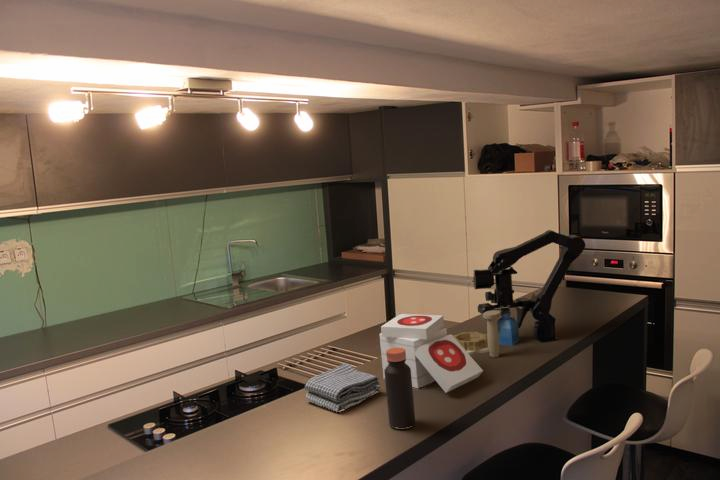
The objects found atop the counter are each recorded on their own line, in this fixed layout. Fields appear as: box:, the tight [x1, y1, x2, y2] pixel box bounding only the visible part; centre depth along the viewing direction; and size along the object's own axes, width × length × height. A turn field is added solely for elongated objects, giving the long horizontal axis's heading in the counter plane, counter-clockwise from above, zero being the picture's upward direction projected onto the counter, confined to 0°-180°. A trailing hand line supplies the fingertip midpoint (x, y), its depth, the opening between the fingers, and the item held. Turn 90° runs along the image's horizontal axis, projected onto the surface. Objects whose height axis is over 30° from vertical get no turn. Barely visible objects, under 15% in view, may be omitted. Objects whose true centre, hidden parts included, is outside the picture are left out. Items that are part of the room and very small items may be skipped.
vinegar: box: [384, 348, 416, 428], centre depth 156 cm, size 7×7×20 cm
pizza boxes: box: [379, 313, 484, 394], centre depth 185 cm, size 19×30×18 cm, turn 41°
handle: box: [482, 310, 501, 359], centre depth 200 cm, size 5×6×15 cm
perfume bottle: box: [497, 308, 520, 346], centre depth 214 cm, size 6×6×12 cm
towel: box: [304, 362, 381, 413], centre depth 178 cm, size 15×18×8 cm
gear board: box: [452, 331, 489, 356], centre depth 212 cm, size 14×14×4 cm
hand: (506, 329), depth 214 cm, fingers open, 9 cm apart
